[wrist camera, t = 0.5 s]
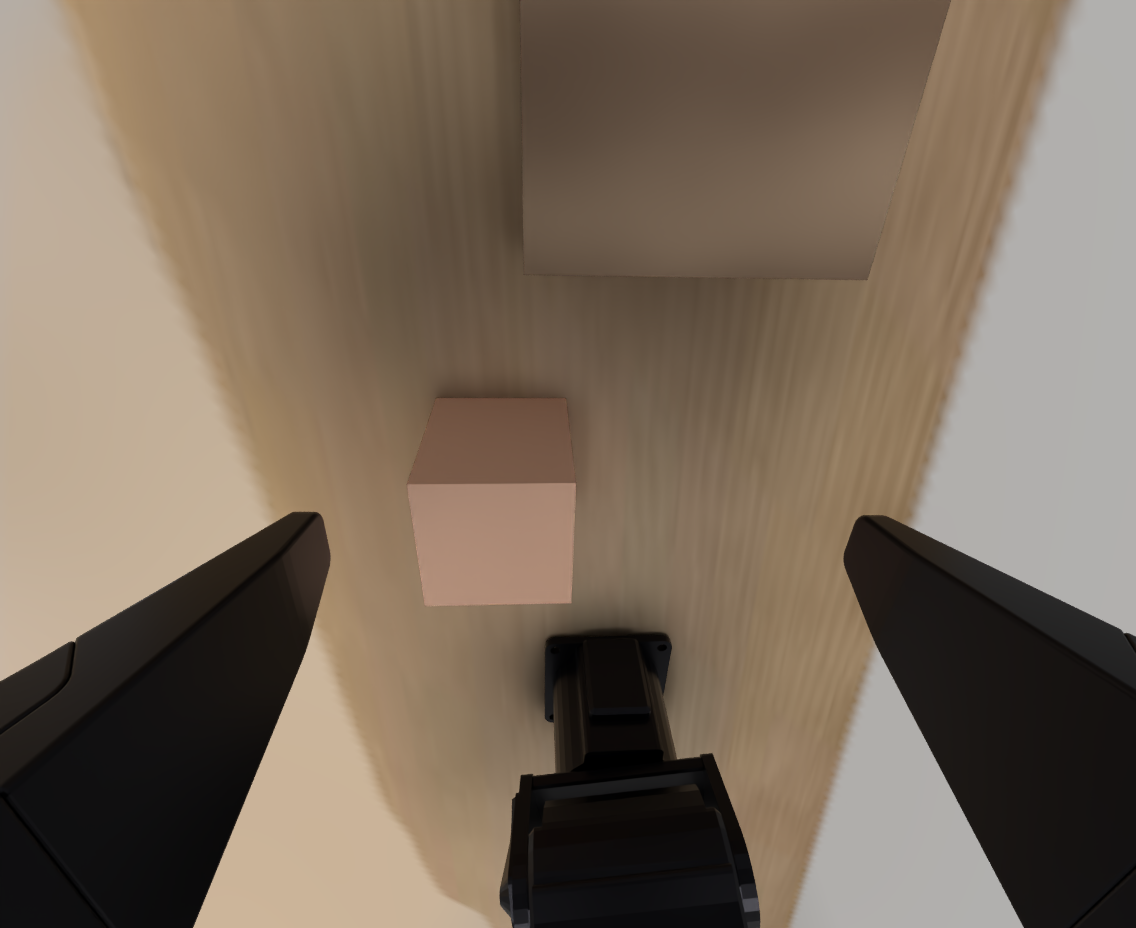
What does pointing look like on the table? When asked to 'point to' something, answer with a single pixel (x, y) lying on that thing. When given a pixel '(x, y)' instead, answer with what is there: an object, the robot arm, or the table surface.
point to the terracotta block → (495, 502)
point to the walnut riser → (716, 133)
